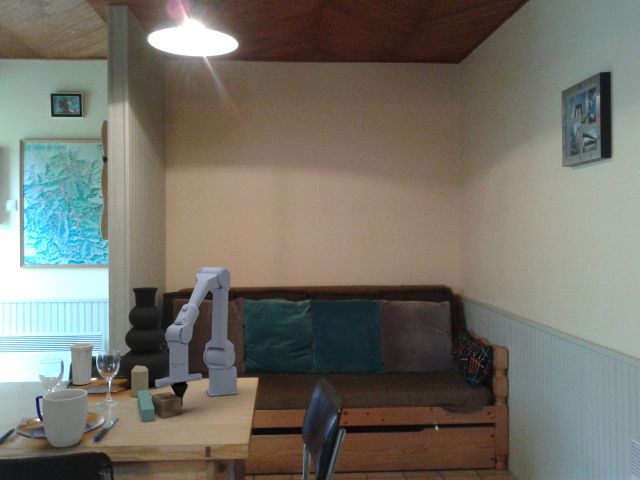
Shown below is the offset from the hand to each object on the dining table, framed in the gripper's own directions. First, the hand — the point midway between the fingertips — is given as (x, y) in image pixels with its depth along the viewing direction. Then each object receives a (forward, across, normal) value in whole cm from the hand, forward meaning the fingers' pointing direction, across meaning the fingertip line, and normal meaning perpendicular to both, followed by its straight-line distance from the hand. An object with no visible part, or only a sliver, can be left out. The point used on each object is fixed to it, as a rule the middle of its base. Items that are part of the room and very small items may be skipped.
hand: (179, 406), depth 184 cm
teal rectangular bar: (+1, +8, -7) cm, 11 cm away
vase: (+2, -3, -39) cm, 39 cm away
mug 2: (+2, +35, +8) cm, 36 cm away
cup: (+2, +16, -52) cm, 55 cm away
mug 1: (+2, +34, -5) cm, 35 cm away
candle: (+2, +4, -25) cm, 25 cm away
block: (+1, +4, -1) cm, 4 cm away
